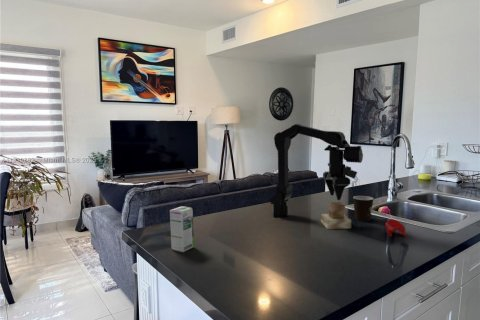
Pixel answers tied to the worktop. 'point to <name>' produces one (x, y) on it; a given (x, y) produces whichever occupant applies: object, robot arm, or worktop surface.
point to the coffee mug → (363, 208)
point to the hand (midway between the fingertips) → (335, 197)
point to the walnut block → (336, 210)
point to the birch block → (335, 222)
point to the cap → (394, 227)
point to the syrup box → (182, 228)
